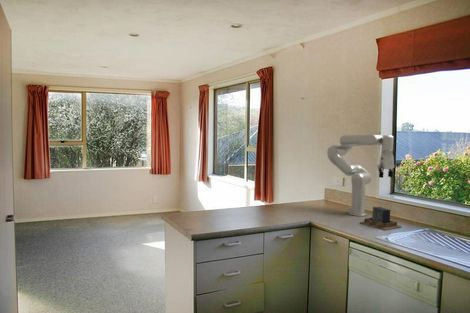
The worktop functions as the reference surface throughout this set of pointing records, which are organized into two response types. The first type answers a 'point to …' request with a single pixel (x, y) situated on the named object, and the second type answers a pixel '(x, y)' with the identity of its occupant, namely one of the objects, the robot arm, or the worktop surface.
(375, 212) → the small box
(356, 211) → the robot arm
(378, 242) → the worktop surface
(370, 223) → the brown shallow box
